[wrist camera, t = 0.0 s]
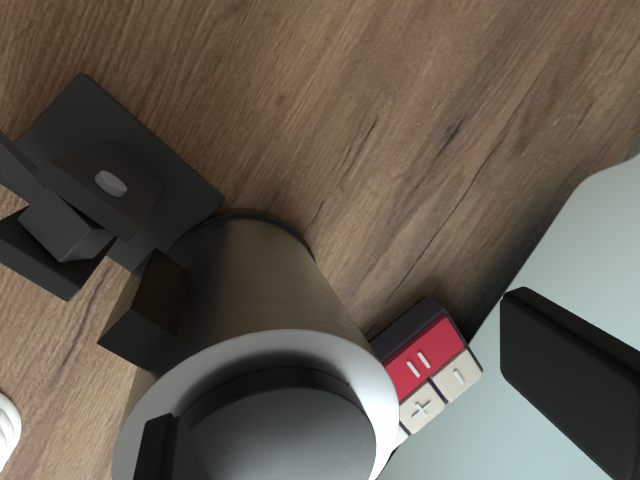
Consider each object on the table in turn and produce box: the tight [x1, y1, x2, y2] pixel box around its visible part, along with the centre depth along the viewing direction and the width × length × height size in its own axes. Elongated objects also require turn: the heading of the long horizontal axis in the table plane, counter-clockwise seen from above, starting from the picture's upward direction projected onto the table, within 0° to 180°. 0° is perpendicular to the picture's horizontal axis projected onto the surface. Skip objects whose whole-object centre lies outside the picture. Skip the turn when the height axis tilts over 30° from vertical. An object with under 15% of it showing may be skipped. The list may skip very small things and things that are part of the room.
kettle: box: [97, 208, 400, 480], centre depth 23 cm, size 15×13×19 cm
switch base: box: [0, 73, 225, 302], centre depth 21 cm, size 12×9×12 cm
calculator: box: [369, 296, 483, 451], centre depth 38 cm, size 11×4×15 cm
